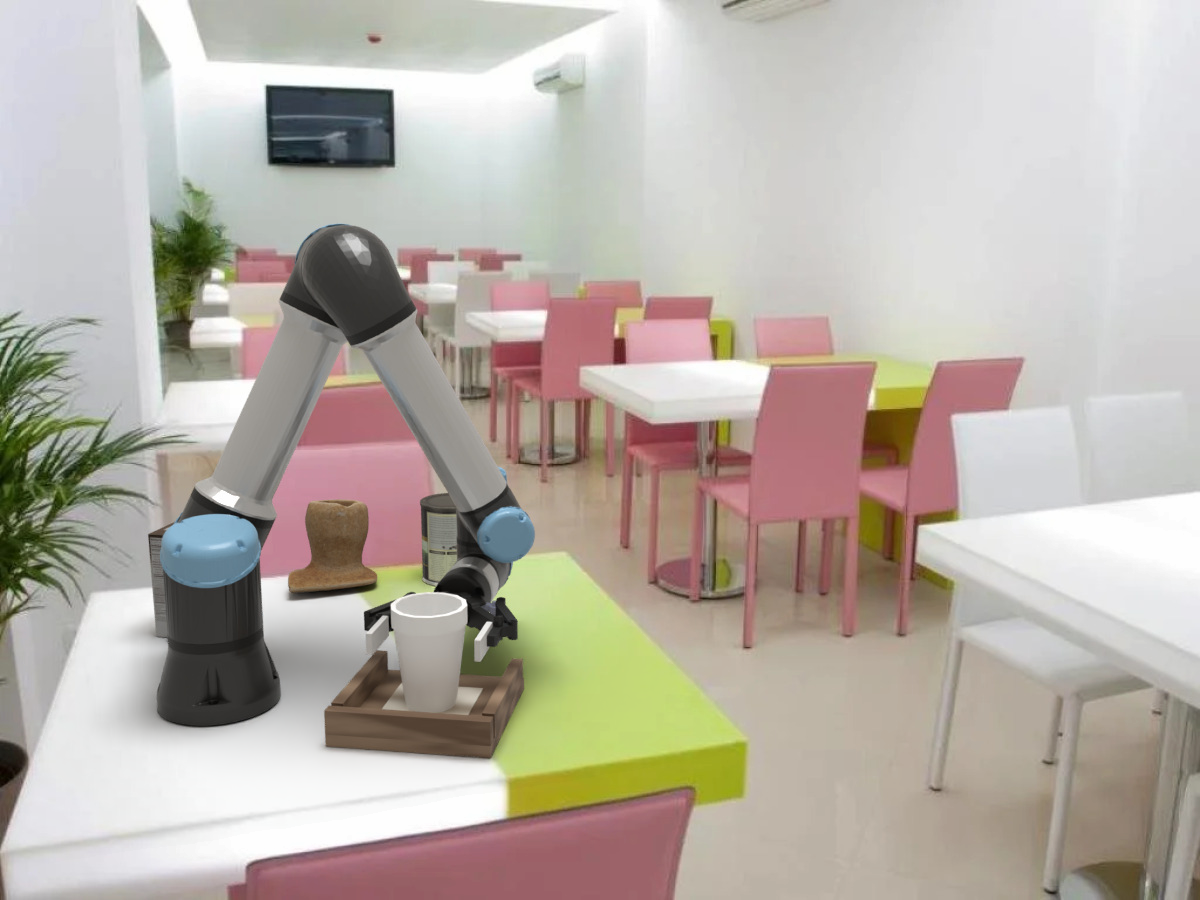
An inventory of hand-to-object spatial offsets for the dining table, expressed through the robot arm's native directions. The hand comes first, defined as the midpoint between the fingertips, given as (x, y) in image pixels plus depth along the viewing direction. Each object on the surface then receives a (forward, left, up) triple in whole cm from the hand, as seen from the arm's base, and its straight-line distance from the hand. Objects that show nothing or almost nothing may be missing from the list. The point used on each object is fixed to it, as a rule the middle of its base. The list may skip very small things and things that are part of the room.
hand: (422, 647), depth 137 cm
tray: (-1, +3, -10) cm, 11 cm away
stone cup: (-49, +32, -10) cm, 59 cm away
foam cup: (-1, +3, -9) cm, 9 cm away
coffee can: (-35, +47, -10) cm, 59 cm away
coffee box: (-52, +6, -10) cm, 53 cm away
